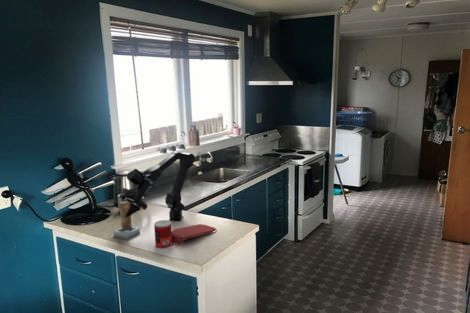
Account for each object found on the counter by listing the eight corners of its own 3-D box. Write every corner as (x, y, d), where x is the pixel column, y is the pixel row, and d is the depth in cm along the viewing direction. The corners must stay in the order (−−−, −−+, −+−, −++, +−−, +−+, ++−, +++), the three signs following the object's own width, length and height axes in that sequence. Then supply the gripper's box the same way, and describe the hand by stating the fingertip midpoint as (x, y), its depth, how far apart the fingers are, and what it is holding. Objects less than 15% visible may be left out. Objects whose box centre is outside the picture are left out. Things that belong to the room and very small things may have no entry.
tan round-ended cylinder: (132, 225, 190) (130, 201, 188) (130, 228, 186) (129, 204, 183) (122, 225, 190) (120, 201, 188) (120, 229, 185) (118, 204, 183)
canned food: (174, 242, 179) (173, 220, 177) (166, 249, 172) (165, 226, 170) (160, 240, 181) (159, 219, 179) (152, 247, 174) (151, 225, 172)
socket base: (127, 230, 195) (126, 225, 194) (139, 233, 190) (139, 228, 190) (114, 236, 187) (113, 230, 186) (126, 239, 182) (126, 234, 182)
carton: (200, 232, 201) (165, 240, 182) (201, 223, 201) (166, 230, 181) (217, 237, 194) (182, 247, 174) (218, 228, 193) (183, 236, 174)
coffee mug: (126, 214, 219) (125, 198, 218) (115, 211, 225) (114, 195, 223) (143, 208, 230) (142, 193, 228) (132, 205, 236) (131, 190, 234)
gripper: (121, 178, 193) (102, 203, 187) (140, 184, 180) (121, 211, 174) (135, 189, 200) (118, 214, 194) (155, 196, 187) (137, 223, 181)
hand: (123, 215), depth 186 cm, fingers closed on tan round-ended cylinder, 5 cm apart
